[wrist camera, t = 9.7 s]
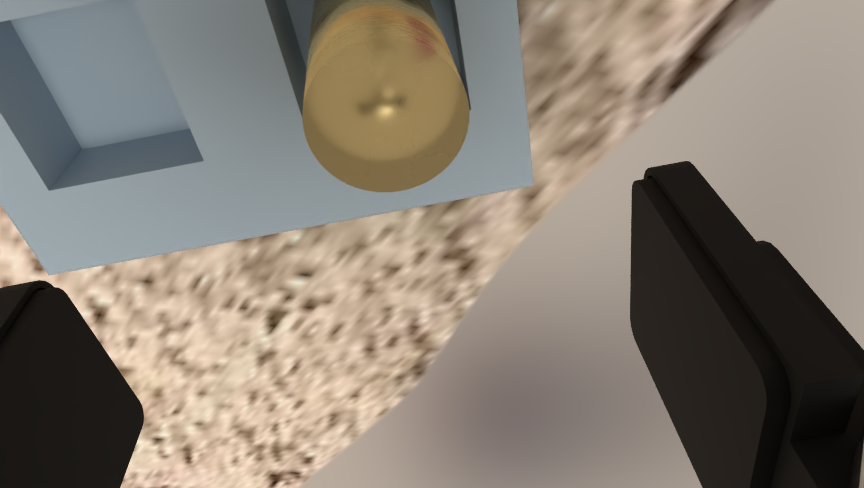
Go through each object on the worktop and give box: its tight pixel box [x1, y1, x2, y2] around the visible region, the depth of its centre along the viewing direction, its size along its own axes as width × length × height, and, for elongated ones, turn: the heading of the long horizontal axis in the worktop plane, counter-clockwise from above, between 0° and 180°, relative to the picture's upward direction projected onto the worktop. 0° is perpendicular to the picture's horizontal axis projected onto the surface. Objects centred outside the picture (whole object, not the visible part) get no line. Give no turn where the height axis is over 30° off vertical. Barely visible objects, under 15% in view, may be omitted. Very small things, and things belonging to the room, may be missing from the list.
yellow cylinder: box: [303, 0, 470, 192], centre depth 19 cm, size 4×4×8 cm
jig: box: [0, 0, 534, 275], centre depth 21 cm, size 12×18×4 cm, turn 100°
